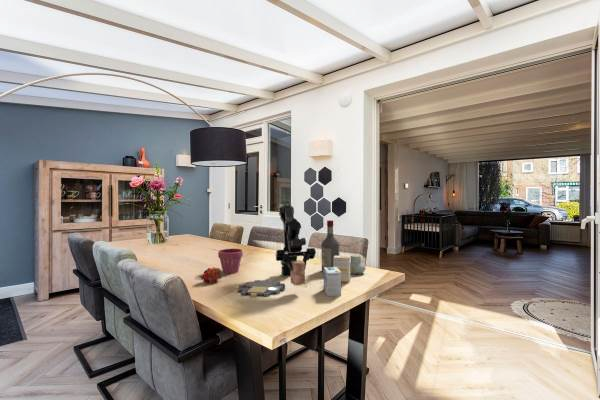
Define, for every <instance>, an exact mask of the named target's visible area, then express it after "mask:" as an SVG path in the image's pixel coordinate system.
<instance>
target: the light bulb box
mask: <svg viewBox="0 0 600 400" xmlns="http://www.w3.org/2000/svg"><path fill="white" fill-rule="evenodd" d="M323 291H324V292H325V295H326V296H327V297H338V296H339V297H341V296H342V282H341V272H340V270H339V269H338V268H337V267H324V272H323Z"/></svg>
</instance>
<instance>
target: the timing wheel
mask: <svg viewBox="0 0 600 400" xmlns="http://www.w3.org/2000/svg"><path fill="white" fill-rule="evenodd" d="M285 290H286V284H285V283H281V281H280V280H275V281H273V280H272V279H265V280H260V279H257V280H256V279H255V280H254V281H246V282H245V283H244V284H240V285H238V287H237V293H240V294H241V295H242V296H250V298H257V297H264V298H265V297H270V296H271V295H276V296H277V295H279V294H281V292H285Z"/></svg>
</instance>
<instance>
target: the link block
mask: <svg viewBox="0 0 600 400" xmlns="http://www.w3.org/2000/svg"><path fill="white" fill-rule="evenodd" d="M291 265H292V271H291V276H290V284H292V285H293V286H299V285H300V286H301V285H305V284H306V275H305V273H306V268H305V262H303V260H300V259H297V261H291Z"/></svg>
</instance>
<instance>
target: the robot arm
mask: <svg viewBox="0 0 600 400" xmlns="http://www.w3.org/2000/svg"><path fill="white" fill-rule="evenodd" d="M294 208H295V207H293V205H291V204H288V205H283V206H281V207H279V209H278V215H279V217H280V221H281V222H282V226H283V228H282V229H283V243H284V244H283V245H284V246H283V249H276V251H275V261H278V262H280V264H281V275H283V276H284V277H289V276H290V277H291V271H292V265H291V261H297V260H298V257H303V258H302V261H303V262H305V269H306V267H307V266H306V265H307V261H309V260H314V259H315V257H316V253H317V251H316V249H315V248H314V247H309V248H308V247H307V248H306V251H302V250H303V246H306V245H307V240H306V237H301V238H300V237H299V235H300V231H301V229H302V225H301V223H300V222H299V221H298V219H297V218H295V217H294V214H295V209H294Z"/></svg>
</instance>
